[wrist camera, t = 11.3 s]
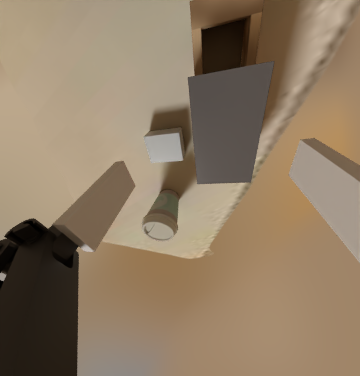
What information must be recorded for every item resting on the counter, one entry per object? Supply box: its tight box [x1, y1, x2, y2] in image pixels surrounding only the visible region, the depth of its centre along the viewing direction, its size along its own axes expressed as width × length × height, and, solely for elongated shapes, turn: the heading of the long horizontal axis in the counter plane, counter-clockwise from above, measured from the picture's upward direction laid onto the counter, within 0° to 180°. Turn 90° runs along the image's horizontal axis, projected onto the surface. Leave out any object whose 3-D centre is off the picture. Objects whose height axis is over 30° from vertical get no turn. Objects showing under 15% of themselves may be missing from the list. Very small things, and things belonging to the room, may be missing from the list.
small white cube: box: [144, 127, 185, 163], centre depth 29 cm, size 6×7×4 cm
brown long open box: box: [190, 0, 264, 76], centre depth 23 cm, size 22×8×4 cm, turn 9°
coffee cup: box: [142, 190, 179, 241], centre depth 36 cm, size 8×8×12 cm
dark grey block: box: [188, 61, 274, 184], centre depth 23 cm, size 15×9×8 cm, turn 9°
